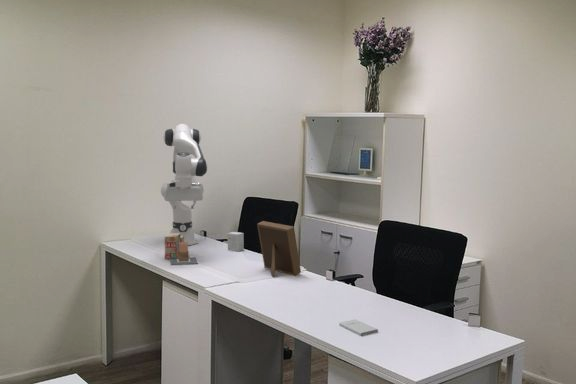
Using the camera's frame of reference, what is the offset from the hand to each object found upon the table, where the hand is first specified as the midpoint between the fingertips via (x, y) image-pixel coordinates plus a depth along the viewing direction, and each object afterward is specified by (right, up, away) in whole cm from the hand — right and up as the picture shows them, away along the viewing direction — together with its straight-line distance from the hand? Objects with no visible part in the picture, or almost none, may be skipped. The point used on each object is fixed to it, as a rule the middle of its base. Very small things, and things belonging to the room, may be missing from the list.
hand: (183, 208), depth 298 cm
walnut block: (-1, -28, +3) cm, 28 cm away
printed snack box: (-8, -27, +18) cm, 33 cm away
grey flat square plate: (-1, -29, +3) cm, 29 cm away
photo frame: (+50, -32, -16) cm, 61 cm away
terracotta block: (0, -23, +3) cm, 23 cm away
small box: (+25, -26, +34) cm, 49 cm away
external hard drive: (+82, -42, -93) cm, 131 cm away
